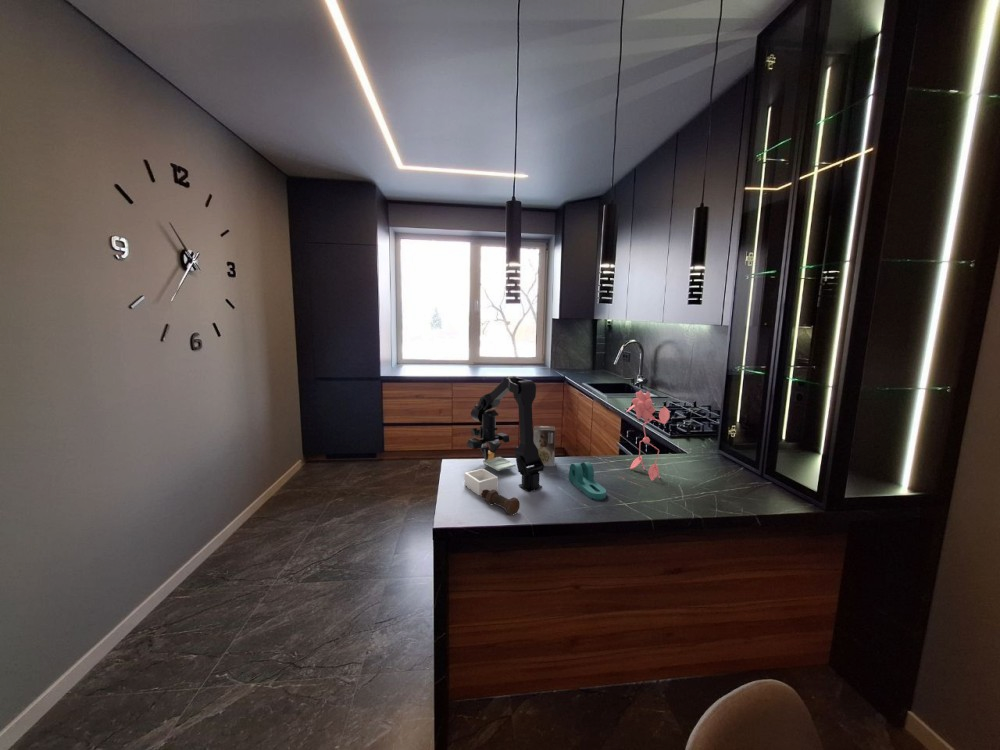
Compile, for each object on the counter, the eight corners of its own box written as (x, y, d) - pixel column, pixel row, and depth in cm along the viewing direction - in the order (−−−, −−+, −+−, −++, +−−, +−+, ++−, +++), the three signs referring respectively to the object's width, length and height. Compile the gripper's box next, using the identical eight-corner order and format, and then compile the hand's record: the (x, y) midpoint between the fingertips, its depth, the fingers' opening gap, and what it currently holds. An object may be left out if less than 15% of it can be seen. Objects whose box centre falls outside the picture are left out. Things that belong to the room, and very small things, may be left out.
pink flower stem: (634, 462, 172) (637, 383, 166) (676, 486, 147) (682, 395, 142) (603, 466, 167) (605, 386, 162) (641, 492, 143) (646, 399, 137)
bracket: (569, 480, 153) (569, 461, 152) (584, 478, 155) (585, 459, 154) (592, 501, 136) (593, 479, 135) (609, 498, 138) (610, 477, 136)
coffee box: (554, 461, 172) (555, 425, 170) (554, 466, 166) (555, 430, 163) (533, 460, 173) (534, 425, 171) (533, 465, 167) (533, 429, 164)
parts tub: (497, 490, 143) (497, 477, 142) (479, 495, 139) (479, 482, 138) (482, 480, 151) (482, 468, 150) (464, 485, 147) (464, 472, 146)
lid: (515, 466, 160) (515, 459, 159) (497, 470, 155) (498, 463, 154) (494, 455, 172) (494, 449, 171) (477, 459, 167) (477, 452, 166)
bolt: (485, 502, 137) (516, 517, 126) (476, 499, 134) (506, 514, 123) (491, 486, 139) (522, 500, 128) (482, 483, 135) (512, 496, 124)
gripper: (496, 417, 177) (495, 450, 180) (460, 423, 167) (460, 458, 169) (510, 423, 169) (510, 457, 171) (473, 429, 158) (473, 466, 160)
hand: (488, 459), depth 168 cm, fingers closed on lid, 2 cm apart
